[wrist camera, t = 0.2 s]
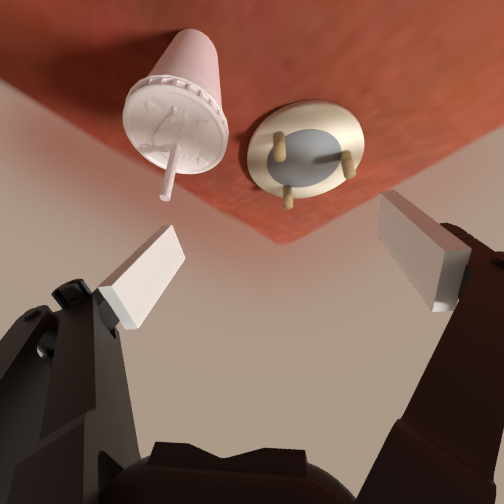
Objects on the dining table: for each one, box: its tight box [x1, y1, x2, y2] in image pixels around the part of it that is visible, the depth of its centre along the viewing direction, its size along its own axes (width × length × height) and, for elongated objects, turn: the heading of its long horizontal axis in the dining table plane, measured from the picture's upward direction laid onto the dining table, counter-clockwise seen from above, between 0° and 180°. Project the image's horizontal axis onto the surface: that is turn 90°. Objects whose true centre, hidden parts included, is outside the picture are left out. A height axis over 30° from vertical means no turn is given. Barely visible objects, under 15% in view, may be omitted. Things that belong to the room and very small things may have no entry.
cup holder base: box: [247, 100, 364, 209], centre depth 27 cm, size 13×13×4 cm
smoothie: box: [123, 29, 229, 201], centre depth 16 cm, size 6×6×14 cm
